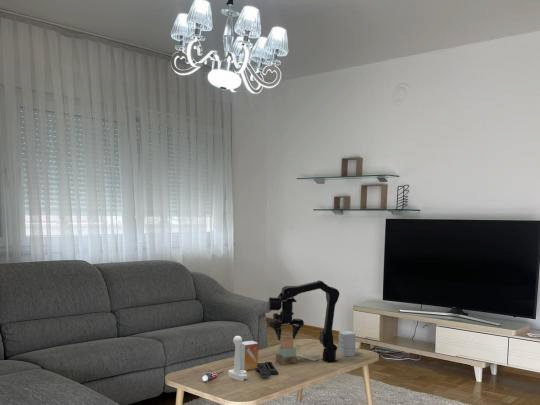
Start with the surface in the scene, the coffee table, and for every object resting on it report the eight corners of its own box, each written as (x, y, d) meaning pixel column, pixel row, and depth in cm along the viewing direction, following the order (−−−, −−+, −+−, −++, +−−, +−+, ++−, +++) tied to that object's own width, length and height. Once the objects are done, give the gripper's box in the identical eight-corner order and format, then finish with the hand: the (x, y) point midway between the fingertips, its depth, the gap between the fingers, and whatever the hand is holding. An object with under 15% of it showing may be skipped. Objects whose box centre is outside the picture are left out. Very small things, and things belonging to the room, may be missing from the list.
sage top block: (289, 352, 270) (289, 345, 270) (295, 356, 264) (296, 348, 264) (278, 354, 267) (278, 346, 267) (284, 357, 261) (284, 350, 261)
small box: (244, 371, 249) (245, 345, 249) (238, 367, 254) (238, 342, 255) (257, 368, 254) (258, 343, 254) (251, 365, 259) (252, 340, 259)
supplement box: (349, 352, 287) (350, 330, 288) (355, 356, 280) (355, 333, 280) (338, 353, 285) (338, 331, 286) (343, 356, 278) (343, 334, 278)
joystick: (226, 375, 242) (227, 334, 242) (238, 372, 247) (239, 331, 247) (240, 381, 234) (241, 338, 234) (252, 378, 238) (253, 336, 239)
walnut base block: (288, 359, 271) (288, 352, 271) (296, 364, 264) (296, 356, 264) (275, 361, 267) (276, 354, 267) (283, 366, 260) (283, 358, 260)
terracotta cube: (288, 346, 269) (288, 336, 269) (293, 348, 265) (293, 338, 265) (280, 346, 267) (280, 337, 267) (284, 349, 263) (285, 339, 263)
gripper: (293, 306, 278) (292, 334, 277) (264, 308, 268) (263, 337, 268) (304, 310, 268) (304, 339, 268) (275, 312, 259) (274, 342, 258)
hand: (286, 339), depth 266 cm, fingers open, 9 cm apart
